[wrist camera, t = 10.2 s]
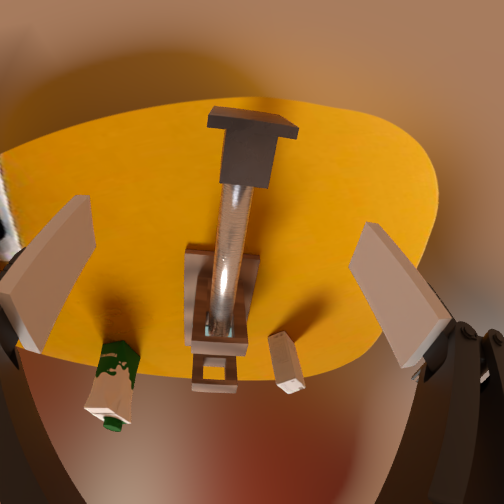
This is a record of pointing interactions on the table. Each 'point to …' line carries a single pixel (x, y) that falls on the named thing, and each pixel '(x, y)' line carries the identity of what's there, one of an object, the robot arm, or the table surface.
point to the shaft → (239, 197)
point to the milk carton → (114, 385)
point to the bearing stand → (202, 346)
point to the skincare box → (285, 363)
